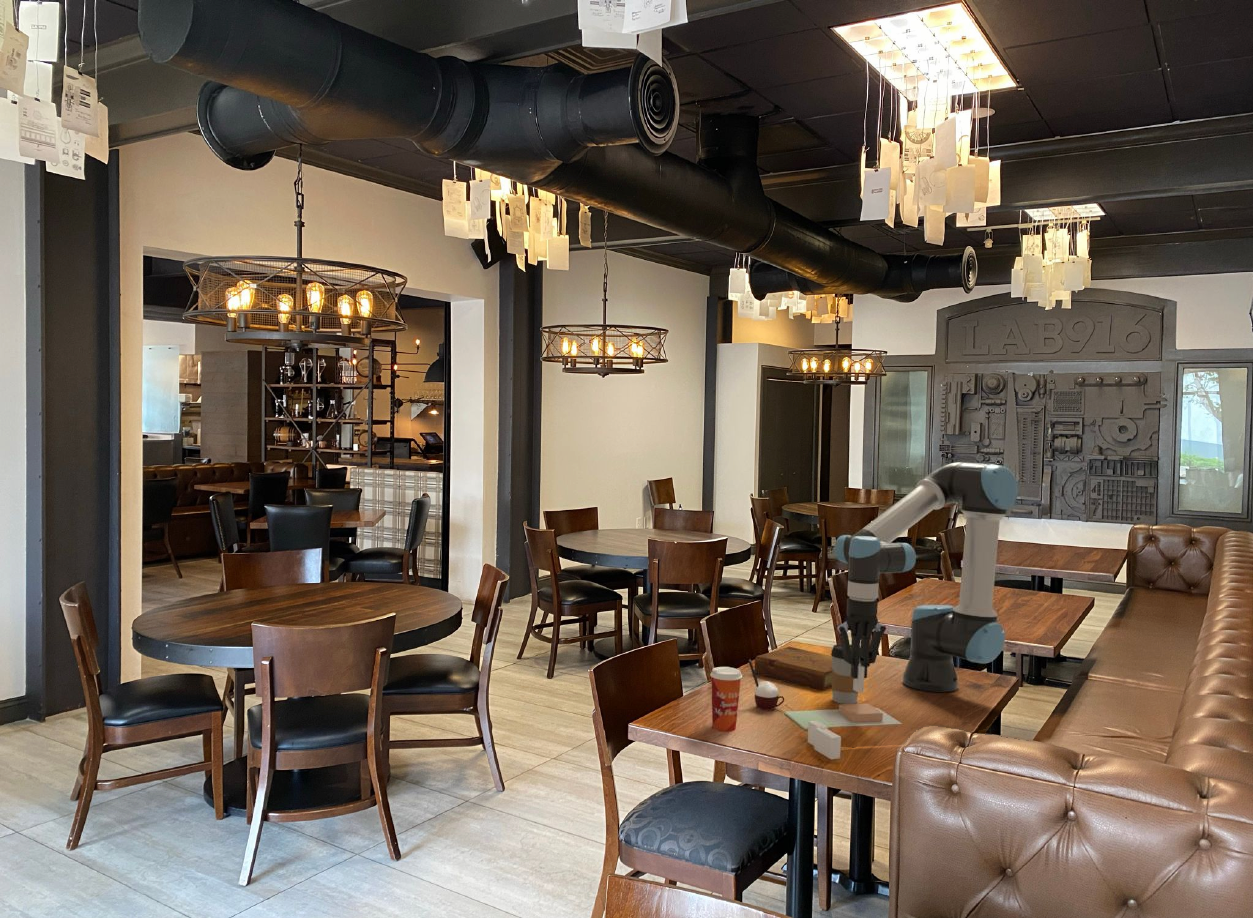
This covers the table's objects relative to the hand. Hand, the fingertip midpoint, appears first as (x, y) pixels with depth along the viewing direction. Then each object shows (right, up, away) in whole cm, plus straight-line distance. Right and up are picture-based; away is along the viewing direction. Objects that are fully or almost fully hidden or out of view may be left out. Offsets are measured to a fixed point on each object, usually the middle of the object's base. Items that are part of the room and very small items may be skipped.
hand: (858, 690), depth 243 cm
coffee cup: (0, -7, +14) cm, 15 cm away
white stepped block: (-13, -9, -23) cm, 28 cm away
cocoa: (-23, -6, +7) cm, 25 cm away
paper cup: (-35, -7, -10) cm, 37 cm away
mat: (-4, -7, -1) cm, 8 cm away
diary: (-6, -6, +39) cm, 40 cm away
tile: (+5, -6, +1) cm, 7 cm away
